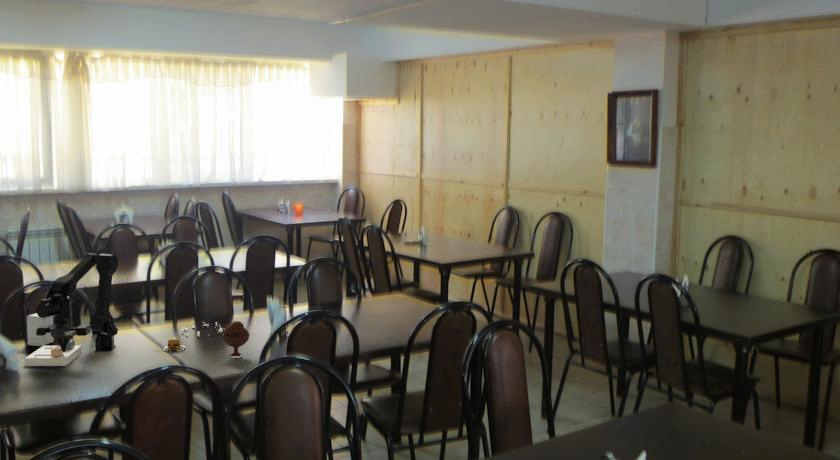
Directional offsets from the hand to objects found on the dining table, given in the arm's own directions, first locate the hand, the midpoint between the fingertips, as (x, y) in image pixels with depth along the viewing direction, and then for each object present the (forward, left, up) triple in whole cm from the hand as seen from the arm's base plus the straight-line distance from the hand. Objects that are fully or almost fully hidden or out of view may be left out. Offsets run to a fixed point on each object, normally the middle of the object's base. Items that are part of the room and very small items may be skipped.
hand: (64, 352), depth 305 cm
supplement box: (+20, -28, -5) cm, 35 cm away
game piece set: (-43, -48, -5) cm, 65 cm away
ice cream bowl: (-64, -9, -5) cm, 65 cm away
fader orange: (+3, 0, -1) cm, 3 cm away
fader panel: (+6, -5, -4) cm, 9 cm away
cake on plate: (-37, -20, -5) cm, 43 cm away
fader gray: (+2, -10, -1) cm, 10 cm away
